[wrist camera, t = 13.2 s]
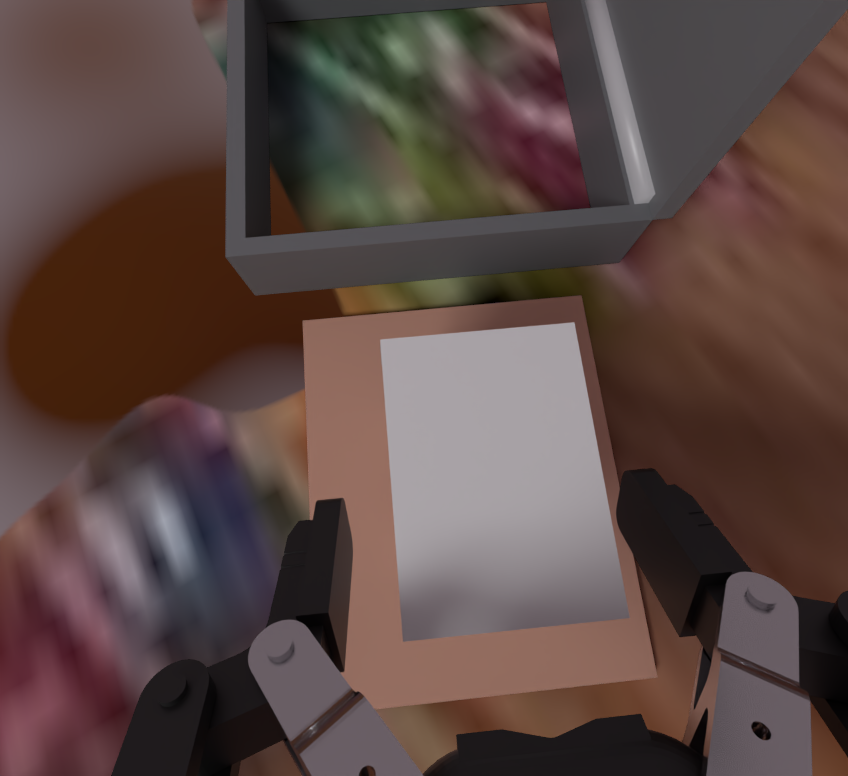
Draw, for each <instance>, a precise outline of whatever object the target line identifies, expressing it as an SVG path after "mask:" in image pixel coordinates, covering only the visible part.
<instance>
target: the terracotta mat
mask: <svg viewBox="0 0 848 776" xmlns="http://www.w3.org/2000/svg"><path fill="white" fill-rule="evenodd" d="M572 322H574V323H575V329H576V334H577V339H578V345H579V350H580V355H581V360H582V366H583V371H584V376H585V382H586V387H587V392H588V398H589V403H590V408H591V414H592V419H593V424H594V430H595V435H596V440H597V446H598V451H599V456H600V462H601V467H602V472H603V478H604V483H605V488H606V494H607V499H608V504H609V510H610V515H611V520H612V526H613V531H614V536H615V542H616V547H617V552H618V558H619V563H620V568H621V574H622V579H623V584H624V590H625V595H626V600H627V606H628V611H629V616H630V618H626V619H616V620H607V621H597V622H587V623H578V624H568V625H559V626H549V627H540V628H530V629H520V630H511V631H501V632H492V633H482V634H473V635H463V636H453V637H444V638H434V639H425V640H415V641H406V642H403V635H402V622H401V609H400V596H399V583H398V569H397V556H396V543H395V530H394V516H393V503H392V490H391V477H390V464H389V450H388V437H387V424H386V411H385V398H384V384H383V371H382V361H381V348H380V340H381V339H392V338H403V337H415V336H426V335H437V334H448V333H460V332H471V331H482V330H494V329H505V328H516V327H527V326H539V325H550V324H561V323H572ZM303 340H304V367H305V396H306V423H307V450H308V477H309V504H310V520H313V515H314V510H315V504H316V501H317V500H325V499H335V498H344V501H345V505H346V510H347V515H348V520H349V525H350V530H351V535H352V542H353V563H352V577H351V590H350V604H349V617H348V631H347V644H346V658H345V671H344V672H340V673H341V674H342V676H343V677H344V679H345V680H346V681H347V683H348V684H349V685H350V687H351V688H352V689H353V690H354V691H355V692H357V691H359V692H360V693H362V694H363V695H364V696H365V698H366V699H367V700H368V701H369V703H370V704H371V705H372V707H373V708H374V709H382V708H391V707H400V706H409V705H418V704H427V703H436V702H445V701H453V700H462V699H471V698H480V697H489V696H498V695H507V694H516V693H524V692H533V691H542V690H551V689H560V688H569V687H578V686H587V685H596V684H604V683H613V682H622V681H631V680H640V679H649V678H658V677H657V672H656V667H655V662H654V657H653V652H652V647H651V642H650V637H649V632H648V627H647V622H646V617H645V612H644V607H643V602H642V597H641V592H640V587H639V582H638V577H637V572H636V567H635V561H634V556H633V553H632V551H631V550H630V548H629V546H628V544H627V542H626V541H625V539H624V537H623V535H622V533H621V532H620V529H619V527H618V523H617V519H616V507H617V502H618V496H619V491H620V486H619V481H618V476H617V471H616V466H615V461H614V456H613V451H612V446H611V441H610V436H609V431H608V426H607V421H606V416H605V411H604V406H603V401H602V396H601V391H600V386H599V381H598V376H597V371H596V366H595V361H594V356H593V351H592V346H591V341H590V336H589V331H588V326H587V321H586V316H585V311H584V306H583V301H582V296H581V295H579V296H568V297H557V298H546V299H535V300H524V301H513V302H502V303H491V304H480V305H469V306H458V307H447V308H436V309H425V310H414V311H404V312H393V313H382V314H371V315H360V316H349V317H338V318H327V319H317V320H306V321H303Z"/></svg>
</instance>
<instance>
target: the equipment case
mask: <svg viewBox="0 0 848 776" xmlns="http://www.w3.org/2000/svg"><path fill="white" fill-rule="evenodd" d="M538 2H546V3H547V7H548V12H549V17H550V21H551V26H552V31H553V35H554V40H555V44H556V49H557V54H558V58H559V63H560V68H561V72H562V77H563V82H564V86H565V91H566V95H567V100H568V105H569V109H570V114H571V119H572V123H573V128H574V133H575V137H576V142H577V146H578V151H579V156H580V160H581V165H582V170H583V174H584V179H585V183H586V188H587V193H588V197H589V202H590V207H591V208H585V209H574V210H562V211H550V212H539V213H527V214H516V215H504V216H493V217H481V218H470V219H458V220H447V221H435V222H423V223H412V224H400V225H389V226H377V227H366V228H354V229H343V230H331V231H320V232H308V233H298V234H285V235H275V236H274V235H273V236H271V215H270V161H269V110H268V59H267V23H272V22H285V21H299V20H312V19H325V18H339V17H352V16H365V15H378V14H392V13H405V12H418V11H432V10H445V9H458V8H471V7H485V6H498V5H511V4H525V3H538ZM847 9H848V0H228V11H227V141H226V143H227V144H226V258H227V259H228V261H229V262H230V263H231V265H232V266H233V267H234V269H235V270H236V271H237V272H238V274H239V275H240V276H241V278H242V279H243V280H244V281H245V283H246V284H247V285H248V286H249V288H250V289H251V291H252V292H253V293H254V294H255V295H264V294H275V293H287V292H297V291H308V290H320V289H331V288H342V287H353V286H365V285H376V284H387V283H398V282H409V281H420V280H431V279H443V278H454V277H465V276H476V275H487V274H498V273H509V272H521V271H532V270H543V269H554V268H565V267H576V266H588V265H599V264H610V263H619V262H620V261H621V260H622V258H623V257H624V256H625V255H626V253H627V252H628V251H629V249H630V248H631V247H632V246H633V244H634V243H635V242H636V240H637V239H638V238H639V237H640V235H641V234H642V233H643V231H644V230H645V229H646V228H647V226H648V225H649V224H650V223H651V221H652V220H655V219H666V218H672V217H673V216H674V215H675V213H676V212H677V211H678V210H679V209H680V208H681V206H682V205H683V204H684V203H685V202H686V200H687V199H688V198H689V197H690V196H691V194H692V193H693V192H694V191H695V190H696V189H697V187H698V186H699V185H700V184H701V183H702V181H703V180H704V179H705V178H706V177H707V175H708V174H709V173H710V172H711V171H712V169H713V168H714V167H715V166H716V165H717V164H718V162H719V161H720V160H721V159H722V158H723V156H724V155H725V154H726V153H727V152H728V150H729V149H730V148H731V147H732V146H733V145H734V143H735V142H736V141H737V140H738V139H739V137H740V136H741V135H742V134H743V133H744V131H745V130H746V129H747V128H748V127H749V126H750V124H751V123H752V122H753V121H754V120H755V118H756V117H757V116H758V115H759V114H760V112H761V111H762V110H763V109H764V108H765V107H766V105H767V104H768V103H769V102H770V101H771V99H772V98H773V97H774V96H775V95H776V93H777V92H778V91H779V90H780V89H781V87H782V86H783V85H784V84H785V83H786V82H787V80H788V79H789V78H790V77H791V76H792V74H793V73H794V72H795V71H796V70H797V68H798V67H799V66H800V65H801V64H802V63H803V61H804V60H805V59H806V58H807V57H808V55H809V54H810V53H811V52H812V51H813V49H814V48H815V47H816V46H817V45H818V44H819V42H820V41H821V40H822V39H823V38H824V36H825V35H826V34H827V33H828V32H829V30H830V29H831V28H832V27H833V26H834V25H835V23H836V22H837V21H838V20H839V19H840V17H841V16H842V15H843V14H844V13H845V11H846V10H847Z"/></svg>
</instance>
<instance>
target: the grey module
mask: <svg viewBox="0 0 848 776" xmlns="http://www.w3.org/2000/svg"><path fill="white" fill-rule="evenodd" d="M380 348H381V361H382V371H383V384H384V398H385V411H386V424H387V437H388V450H389V464H390V477H391V490H392V503H393V516H394V530H395V543H396V556H397V569H398V583H399V596H400V609H401V622H402V635H403V642H406V641H415V640H425V639H434V638H444V637H453V636H463V635H473V634H482V633H492V632H501V631H511V630H520V629H530V628H540V627H549V626H559V625H568V624H578V623H587V622H597V621H607V620H616V619H626V618H630V616H629V611H628V606H627V600H626V595H625V590H624V584H623V579H622V574H621V568H620V563H619V558H618V552H617V547H616V542H615V536H614V531H613V526H612V520H611V515H610V510H609V504H608V499H607V494H606V488H605V483H604V478H603V472H602V467H601V462H600V456H599V451H598V446H597V440H596V435H595V430H594V424H593V419H592V414H591V408H590V403H589V398H588V392H587V387H586V382H585V376H584V371H583V366H582V360H581V355H580V350H579V345H578V339H577V334H576V329H575V323H574V322H572V323H561V324H550V325H539V326H527V327H516V328H505V329H494V330H482V331H471V332H460V333H448V334H437V335H426V336H415V337H403V338H392V339H381V340H380Z"/></svg>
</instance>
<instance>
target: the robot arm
mask: <svg viewBox="0 0 848 776" xmlns="http://www.w3.org/2000/svg"><path fill="white" fill-rule="evenodd" d="M616 519H617V523H618V527H619V529H620V532H621V533H622V535H623V537H624V539H625V541H626V542H627V544H628V546H629V548H630V550H631V551H632V553H633V555H634V557H635V558H636V560H637V562H638V564H639V566H640V567H641V569H642V571H643V573H644V575H645V576H646V578H647V580H648V582H649V583H650V585H651V587H652V589H653V591H654V592H655V594H656V596H657V598H658V600H659V601H660V603H661V605H662V607H663V608H664V610H665V612H666V614H667V616H668V617H669V619H670V621H671V623H672V625H673V626H674V628H675V630H676V632H677V633H678V635H679V637H686V636H695V635H696V636H697V637H698V639H699V641H700V642H701V644H702V646H701V649H700V652H699V658H698V665H697V671H696V677H695V683H694V689H693V695H692V701H691V707H690V713H689V718H688V723H687V727H686V730H685V734H684V737H683V741H682V742H680V741H678V740H677V739H674V738H672V737H670V736H667V735H665V734H662V733H659V732H656V731H653V730H648V729H647V727H646V725H645V723H644V720H643V718H642V715H641V714H635V715H627V716H618V717H609V718H600V719H595V720H592V721H590V722H588V723H586V724H584V725H582V726H579V727H577V728H575V729H573V730H571V731H569V732H566V733H564V734H562V735H560V736H558V737H555V738H546V737H541V736H535V735H530V734H524V733H519V732H513V731H508V730H493V731H484V732H475V733H467V734H458V735H456V736H457V750H454V751H452V752H450V753H448V754H446V755H445V756H443V757H442V758H440V759H439V760H437V761H436V762H435V763H434V764H433V765H431V766H430V767H429V768H428V769H427V770H426V771H425V772H424V773H423V774H422V773H421V772H420V770H419V769H418V768H417V766H416V765H415V763H414V762H413V761H412V759H411V758H410V757H409V755H408V754H407V753H406V751H405V750H404V749H403V747H402V746H401V744H400V743H399V742H398V740H397V739H396V738H395V736H394V735H393V734H392V732H391V731H390V730H389V728H388V727H387V726H386V724H385V723H384V721H383V720H382V719H381V717H380V716H379V715H378V713H377V712H376V711H375V709H374V708H373V707H372V705H371V704H370V703H369V701H368V700H367V699H366V698H365V696H364V695H363V694H362V693H360V692H359V691H357V692H355V691H354V690H353V689H352V688H351V687H350V685H349V684H348V683H347V681H346V680H345V679H344V677H343V676H342V674H341V673H340V672H344V671H345V658H346V644H347V631H348V617H349V604H350V590H351V577H352V563H353V542H352V535H351V530H350V525H349V520H348V515H347V510H346V505H345V501H344V498H335V499H325V500H317V501H316V504H315V510H314V515H313V520H304V521H298V523H297V524H296V526H295V527H294V528H293V530H292V531H291V533H290V534H289V535H288V538H287V542H286V547H285V551H284V556H283V560H282V564H281V570H280V573H279V577H278V581H277V586H276V590H275V594H274V599H273V603H272V607H271V612H270V616H269V620H268V623H267V626H266V628H265V629H264V630H263V631H262V632H261V633H260V634H259V635H258V636H257V637H256V639H255V640H254V642H253V643H252V645H251V646H250V647H249V648H248V649H246V650H245V651H243V652H242V653H240V654H238V655H236V656H233V657H231V658H229V659H226V660H224V661H222V662H219V663H217V664H215V665H212V666H210V667H207V668H206V667H205V666H204V664H202V663H201V662H199V661H197V660H191V659H188V660H181V661H177V662H175V663H172V664H170V665H169V666H167V667H165V668H164V669H162V670H161V671H160V672H158V673H157V674H156V675H155V676H154V677H153V678H152V679H151V680H150V681H149V683H148V684H147V685H146V687H145V688H144V690H143V692H142V694H141V696H140V698H139V701H138V703H137V706H136V709H135V712H134V714H133V717H132V720H131V723H130V725H129V728H128V731H127V734H126V736H125V739H124V742H123V744H122V747H121V750H120V753H119V755H118V758H117V761H116V764H115V766H114V769H113V772H112V775H111V776H238V773H239V767H240V762H241V760H243V759H245V758H247V757H249V756H251V755H253V754H255V753H257V752H259V751H261V750H263V749H265V748H267V747H269V746H271V745H273V744H275V743H278V742H280V741H282V740H283V742H284V744H285V746H286V748H287V749H288V751H289V753H290V755H291V757H292V759H293V760H294V762H295V764H296V766H297V768H298V770H299V771H300V773H301V775H302V776H812V750H811V712H810V701H811V702H812V704H813V705H814V707H815V708H816V710H817V711H818V713H819V714H820V716H821V717H822V719H823V720H824V722H825V723H826V725H827V726H828V728H829V729H830V731H831V732H832V734H833V736H834V737H835V739H836V740H837V742H838V743H839V745H840V746H841V748H842V749H843V751H844V752H845V754H846V755H847V757H848V591H846V592H844V593H842V594H841V595H840V596H839V598H838V599H837V601H836V603H830V602H824V601H818V600H812V599H807V598H801V597H796V596H792V595H791V594H790V593H789V592H788V591H787V590H786V589H785V588H784V587H783V586H782V585H780V584H779V583H777V582H776V581H774V580H772V579H770V578H768V577H766V576H764V575H761V574H757V573H753V572H752V571H751V569H750V568H749V567H748V566H747V564H746V563H745V562H744V561H743V559H742V558H741V557H740V556H739V554H738V553H737V552H736V551H735V549H734V548H733V547H732V546H731V544H730V543H729V542H728V541H727V539H726V538H725V537H724V536H723V534H722V533H721V532H720V531H719V529H718V528H717V527H716V526H714V523H713V522H712V521H711V519H710V518H709V517H708V516H707V514H704V511H703V509H702V508H701V507H700V506H699V504H698V503H697V502H696V501H695V499H694V498H693V497H692V496H691V495H689V494H688V493H686V492H685V491H684V490H682V489H681V488H679V487H678V486H676V485H667V484H666V483H665V482H664V480H663V479H662V478H661V476H660V475H659V474H658V472H657V471H656V470H655V469H653V468H648V469H638V470H628V471H625V472H624V473H623V476H622V480H621V486H620V491H619V496H618V502H617V507H616Z"/></svg>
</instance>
